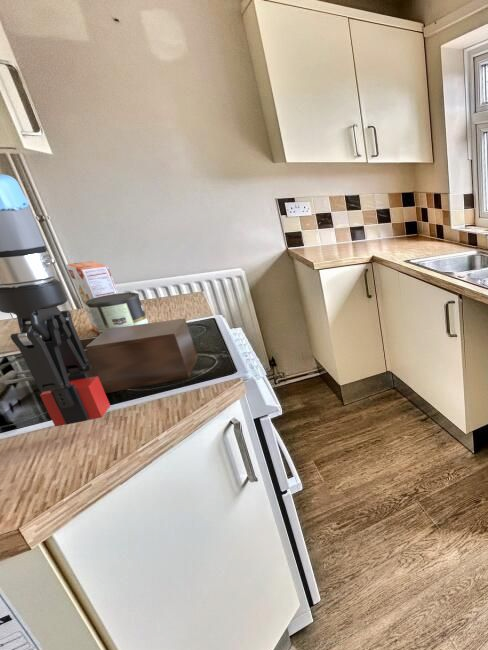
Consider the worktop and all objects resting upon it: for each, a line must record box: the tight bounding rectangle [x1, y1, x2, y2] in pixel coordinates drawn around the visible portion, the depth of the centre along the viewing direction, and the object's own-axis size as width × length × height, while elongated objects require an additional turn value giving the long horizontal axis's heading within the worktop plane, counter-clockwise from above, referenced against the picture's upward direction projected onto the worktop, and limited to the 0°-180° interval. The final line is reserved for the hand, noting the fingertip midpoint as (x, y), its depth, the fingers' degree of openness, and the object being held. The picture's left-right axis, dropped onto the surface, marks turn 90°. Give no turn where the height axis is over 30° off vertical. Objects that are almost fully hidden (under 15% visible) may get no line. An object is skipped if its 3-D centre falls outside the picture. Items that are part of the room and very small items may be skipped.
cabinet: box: [86, 318, 199, 394], centre depth 95 cm, size 15×13×11 cm
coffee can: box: [86, 292, 149, 335], centre depth 111 cm, size 10×10×14 cm
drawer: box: [0, 336, 98, 389], centre depth 89 cm, size 22×11×9 cm, turn 118°
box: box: [39, 376, 111, 427], centre depth 72 cm, size 6×4×6 cm
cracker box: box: [65, 260, 119, 336], centre depth 120 cm, size 14×6×21 cm, turn 56°
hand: (83, 414), depth 73 cm, fingers closed on box, 4 cm apart
